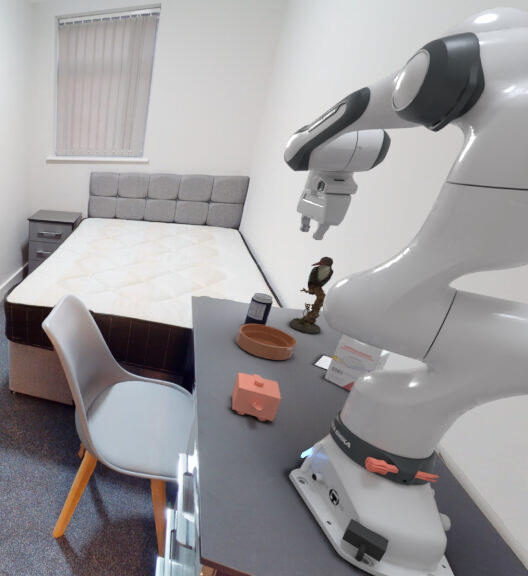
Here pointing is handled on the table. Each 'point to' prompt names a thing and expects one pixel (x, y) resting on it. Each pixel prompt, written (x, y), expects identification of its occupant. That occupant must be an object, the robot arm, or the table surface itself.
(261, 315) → the beverage can
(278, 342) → the orange round dish
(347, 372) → the ink cartridge box
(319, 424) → the table surface
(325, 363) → the white box
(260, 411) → the pink cube teapot
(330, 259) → the sculpture
